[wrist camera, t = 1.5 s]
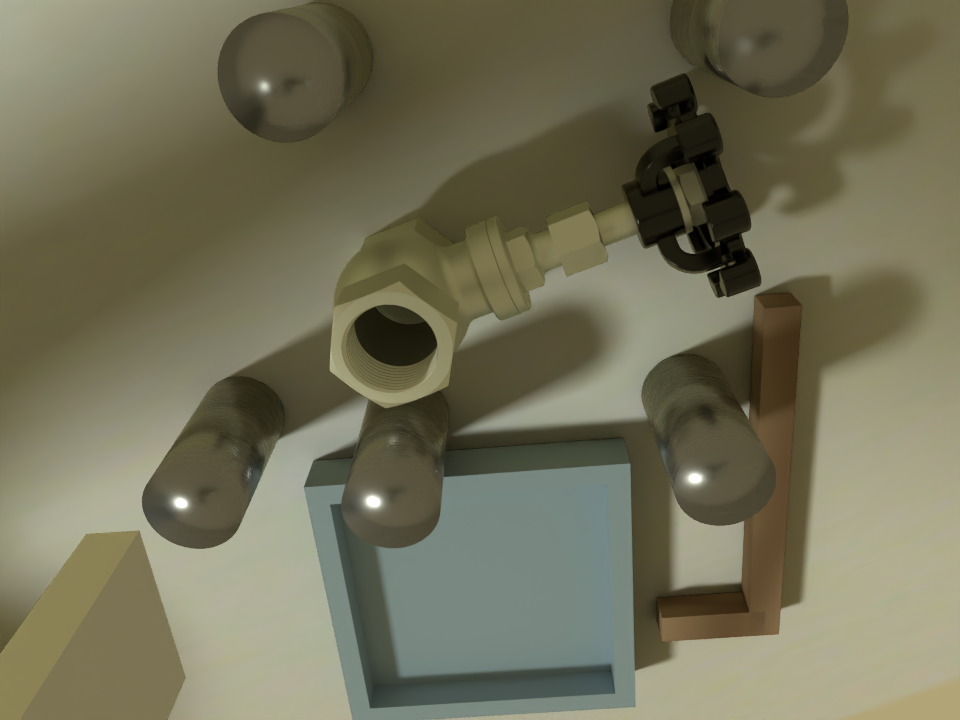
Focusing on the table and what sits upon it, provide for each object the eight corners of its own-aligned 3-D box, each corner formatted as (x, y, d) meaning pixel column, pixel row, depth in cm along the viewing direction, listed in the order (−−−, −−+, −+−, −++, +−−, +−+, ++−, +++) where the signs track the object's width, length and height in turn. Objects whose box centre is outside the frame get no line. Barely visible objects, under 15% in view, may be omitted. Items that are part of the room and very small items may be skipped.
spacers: (215, 463, 32) (160, 565, 27) (102, 24, 26) (-2, 39, 20) (751, 423, 31) (807, 519, 26) (773, -43, 25) (853, -46, 19)
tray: (359, 690, 37) (353, 723, 35) (313, 460, 32) (303, 487, 30) (629, 673, 36) (635, 707, 35) (623, 437, 32) (630, 463, 30)
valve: (396, 372, 31) (720, 252, 29) (373, 470, 25) (781, 327, 23) (313, 204, 28) (663, 60, 26) (265, 268, 22) (714, 87, 20)
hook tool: (656, 620, 35) (662, 641, 34) (654, 303, 29) (661, 316, 28) (769, 613, 35) (778, 633, 34) (790, 292, 29) (801, 305, 28)
